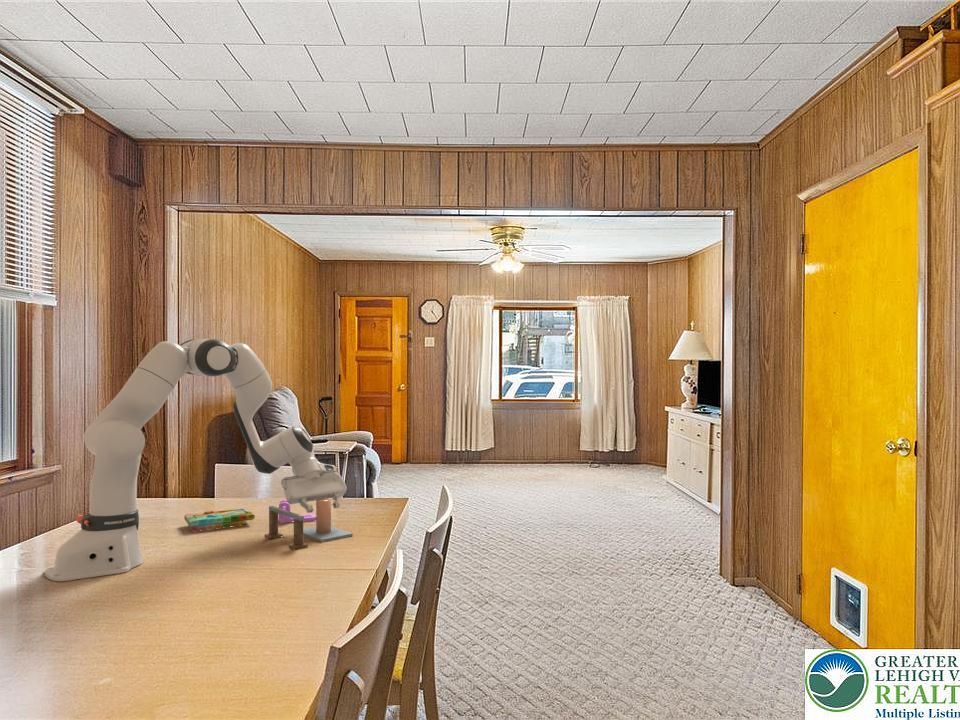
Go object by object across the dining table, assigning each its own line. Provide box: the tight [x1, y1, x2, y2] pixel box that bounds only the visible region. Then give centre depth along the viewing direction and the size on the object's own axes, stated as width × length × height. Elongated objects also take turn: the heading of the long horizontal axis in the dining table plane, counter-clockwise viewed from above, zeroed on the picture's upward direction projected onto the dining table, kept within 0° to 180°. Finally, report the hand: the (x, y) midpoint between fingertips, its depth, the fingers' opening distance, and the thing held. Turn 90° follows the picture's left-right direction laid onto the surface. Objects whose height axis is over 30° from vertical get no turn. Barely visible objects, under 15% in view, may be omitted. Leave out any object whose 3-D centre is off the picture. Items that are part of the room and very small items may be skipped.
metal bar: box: [268, 505, 304, 521], centre depth 206 cm, size 1×20×1 cm, turn 43°
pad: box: [303, 525, 354, 543], centre depth 215 cm, size 11×16×1 cm
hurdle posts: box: [264, 510, 309, 550], centre depth 206 cm, size 4×20×8 cm, turn 43°
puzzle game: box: [183, 508, 256, 532], centre depth 227 cm, size 12×5×20 cm
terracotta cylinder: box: [315, 498, 332, 534], centre depth 215 cm, size 5×5×10 cm
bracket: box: [278, 499, 316, 523], centre depth 234 cm, size 13×6×7 cm, turn 105°
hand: (324, 509), depth 214 cm, fingers open, 8 cm apart
